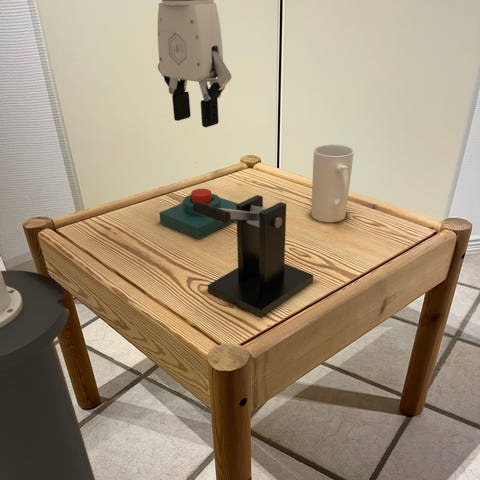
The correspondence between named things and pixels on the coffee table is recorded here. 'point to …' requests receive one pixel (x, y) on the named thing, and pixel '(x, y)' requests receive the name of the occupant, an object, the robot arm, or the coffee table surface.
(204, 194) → the button
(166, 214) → the button box
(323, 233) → the coffee table surface
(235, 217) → the lever
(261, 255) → the bracket
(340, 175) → the mug
